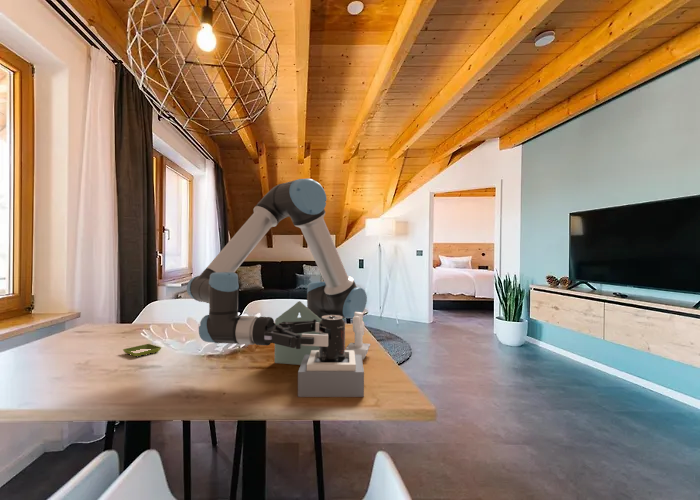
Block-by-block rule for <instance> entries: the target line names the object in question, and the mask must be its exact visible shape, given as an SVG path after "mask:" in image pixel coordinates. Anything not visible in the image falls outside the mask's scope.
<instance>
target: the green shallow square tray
mask: <svg viewBox="0 0 700 500" xmlns="http://www.w3.org/2000/svg"><path fill="white" fill-rule="evenodd" d="M140 349H151V350H148V351H144V352H140V353H133V352H131V351H136V350H140ZM161 349H162V347H161V346H159V345H155V344H151V343H146V344H141V345H136V346H132V347H127V348H123V349H122V350H123V352H124V353H125V354H126V353H128V354H131V355H133V356H132V357H134V356H141V355H145V356H147V355H146V354H149V355H151V354H150V353H153V354H156V353H155V352H157V353H159V351H160V350H161ZM128 354H127V355H128ZM131 355H130V356H131ZM141 357H142V356H141Z"/></svg>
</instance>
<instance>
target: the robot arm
mask: <svg viewBox="0 0 700 500" xmlns="http://www.w3.org/2000/svg"><path fill="white" fill-rule="evenodd" d="M327 200H328V199H327V194H326V191H325V189H324V188H323V186H322V185H321V183H319V181H316V180H314V179H312V178H298V179H295V180H292V181H291V180H290V181H287V182H282V183H279V184H277V185H275V186H273V187H272V188H270V190H269V191H268V192H267V193H266V194H265V195H264V196H263V197H262V198H261V199H260V200H259V201H258V202H257V204H256V205H255V206H254V208H253V213H252V214H251V215H250V217H249V218H248V219H247V220H246V221H245V222H244V224H243V225H241V227H240V228H239V229H238V230H237V232H236V233H235V234H234V235H233V237H232V238H231V239H230V240H229V241H228V242H227V243H226V245H225V246H224V247H223V248H222V249H221V250H220V252H219V253H218V254H217V255H216V256H215V257H214V259H213V260H212V261H211V262H210V263H209V265H208V266H207V267H205V269H204V270H203V271H202V272H201V273H200V275H197V276H196V275H195V276H193V277H192V278H191V279H189V280H188V282H187V285H186V293H187V295H188V296H189V297H190V298H191V299H192V300H193V299H194V300H195V301H196V302H197V301H198V302H200V303H201V302H202V303H206V304H208V314H206V315H204V316H203V317H202V318H201V320H200V321H199V323H200V325H199V326H198V334H199V338H200V339H201V340H202V341H204V342H205V343H213V344H218V345H219V344H233V345H244V346H245V347H248V346H249V345H255V346H270V345H271V344H274V345H275V344H278V345H282V346H286V347H291V348H295V347H296V349H301V344H302V345H303V346H323V347H328V335H322V334H302V337H301V335H299V334H297V333H304V332H312V331H316V332H319V322H317V320H316V319H314V320H313V321H298V322H282V323H279V325H276V324H275V320H274V318H273V317H271V316H259V317H258V316H257V315H254V316H253V315H252V316H251V315H239V288H240V286H239V276H238V275H239V274H238V273H236V271H237V270H238V268H239V267H240V266H241V265H242V264H243V263H244V262H245V260H246V259H247V258H248V257H249V255H250V254H251V253H252V251H253V250H254V249H255V248H256V247H257V246H258V244H259V243H260V242H261V241H262V239H263V238H264V237H265V235H266V234H267V233H268V232H269V231H270V230H271V228H273V227H277V225H279V223H280V222H281V221H282V220H284V219H285V218H290V220H291V222H292V224H293V226H294V227H296V228H299V229H300V230H301V233H302V235H303V238H304V239H305V242H306V244H307V246H308V249H309V250H310V253H311V255H312V257H313V260H314V261H315V264H316V266H317V269H318V271H319V272H320V274H321V277H322V280H323V281H315V282H310V283H308V285H307V289H306V290H307V291H306V304H307V305H306V307H307V308H308V309H309V310H311V311H312V312H313V313H314V314H316V315H317V316H318V317H319V318H320V319H322V316H325V315H340V316H343V318H345V319H353V317H354V312H362V313H363V314H364V311H365V309H366V306H367V302H368V297H367V292H366V290H365V289H364V288H363V287H361V286H357V285H356V282H355V279H354V277H352V276H350V275H348V273H347V271H346V269H345V267H344V264H343V262H342V259H341V257H340V255H339V252H338V249H337V247H336V244H335V242H334V240H333V238H332V235H331V233H330V231H329V228H328V226H327V224H326V221H325V219H324V217H325V216H326V210H325V208H326V206H327ZM311 325H312V327H311ZM290 343H291V344H290Z"/></svg>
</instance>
